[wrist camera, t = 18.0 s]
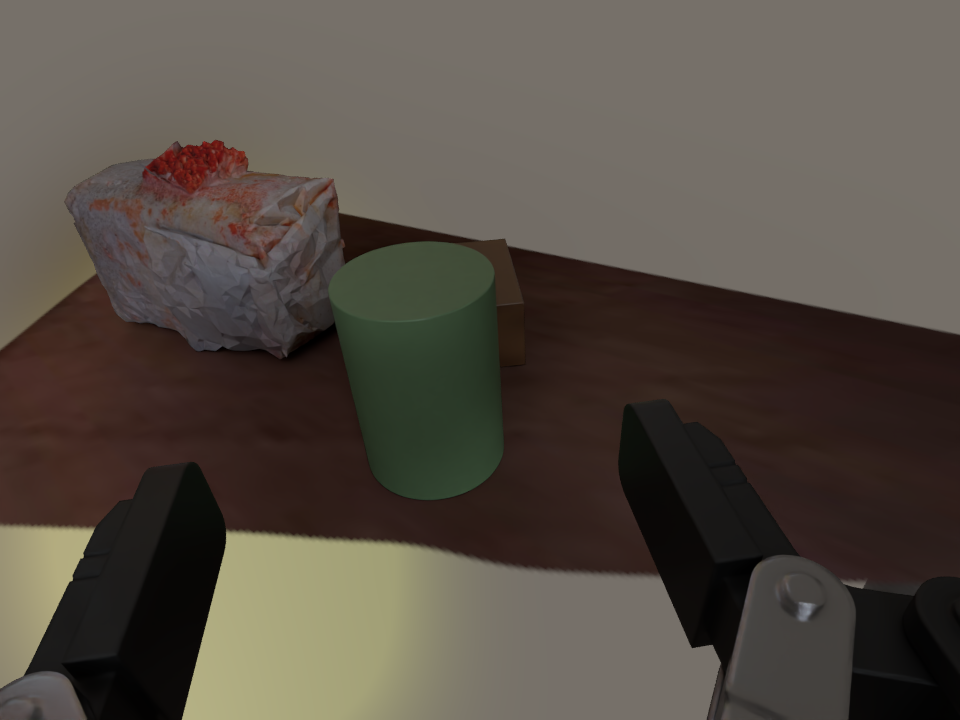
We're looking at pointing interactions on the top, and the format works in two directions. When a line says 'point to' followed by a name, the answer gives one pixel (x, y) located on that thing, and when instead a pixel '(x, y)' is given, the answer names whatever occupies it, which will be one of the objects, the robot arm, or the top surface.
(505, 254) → the walnut block
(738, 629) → the robot arm
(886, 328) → the top surface
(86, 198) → the food item
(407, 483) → the green tin
